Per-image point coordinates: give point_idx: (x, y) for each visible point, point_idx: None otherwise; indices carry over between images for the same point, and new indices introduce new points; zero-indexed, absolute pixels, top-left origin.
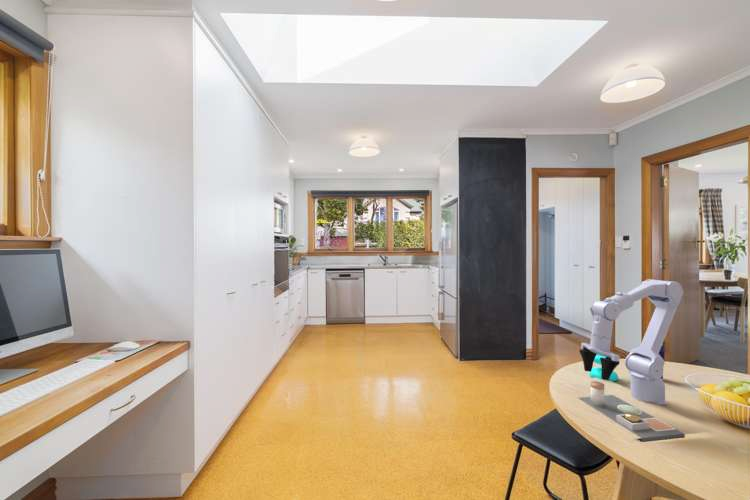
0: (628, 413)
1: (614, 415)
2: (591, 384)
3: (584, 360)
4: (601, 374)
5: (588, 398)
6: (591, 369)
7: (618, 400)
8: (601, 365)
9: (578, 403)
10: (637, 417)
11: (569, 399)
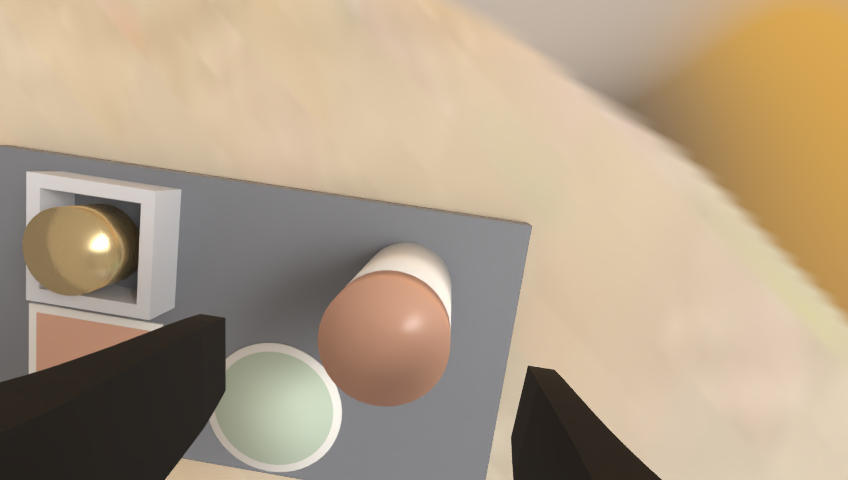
0: (87, 246)
1: (239, 242)
2: (403, 279)
3: (602, 468)
4: (187, 337)
5: (493, 295)
6: (514, 466)
7: (399, 467)
8: (42, 413)
9: (497, 197)
10: (26, 250)
11: (571, 186)
